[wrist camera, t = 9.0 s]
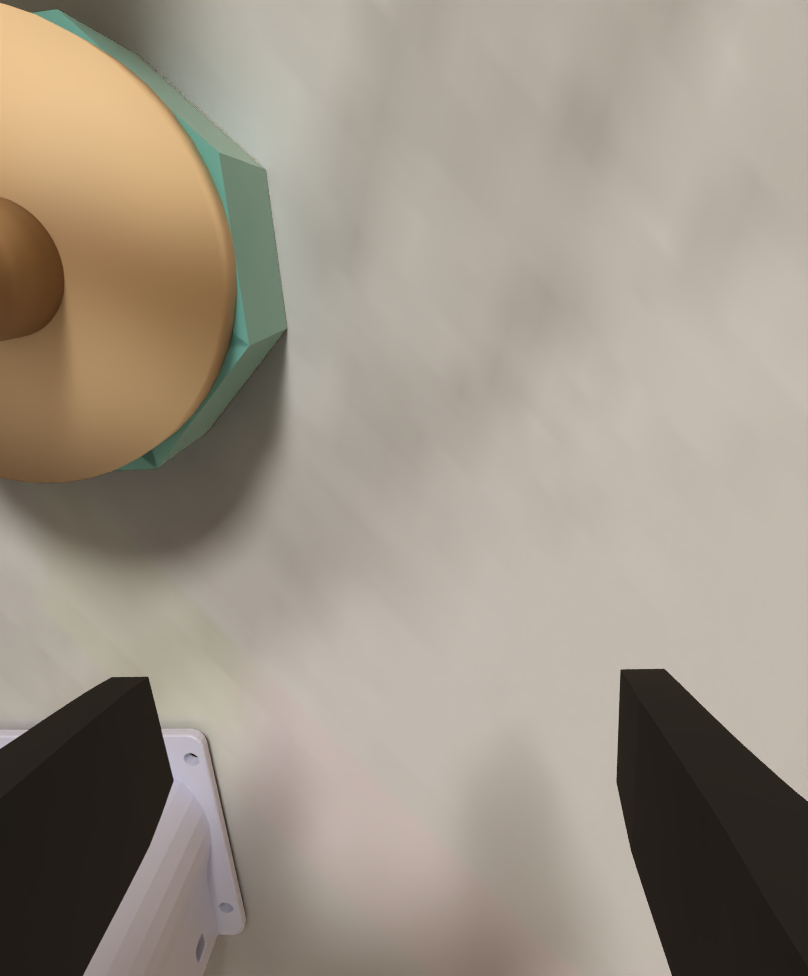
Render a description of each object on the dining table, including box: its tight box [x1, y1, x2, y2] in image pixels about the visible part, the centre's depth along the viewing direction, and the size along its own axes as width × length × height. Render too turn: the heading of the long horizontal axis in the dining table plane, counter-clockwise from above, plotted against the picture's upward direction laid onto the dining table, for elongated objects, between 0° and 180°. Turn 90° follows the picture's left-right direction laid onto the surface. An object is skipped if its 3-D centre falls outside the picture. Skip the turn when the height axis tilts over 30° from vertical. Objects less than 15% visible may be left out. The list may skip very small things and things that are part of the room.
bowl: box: [32, 9, 287, 471], centre depth 16 cm, size 9×9×3 cm
